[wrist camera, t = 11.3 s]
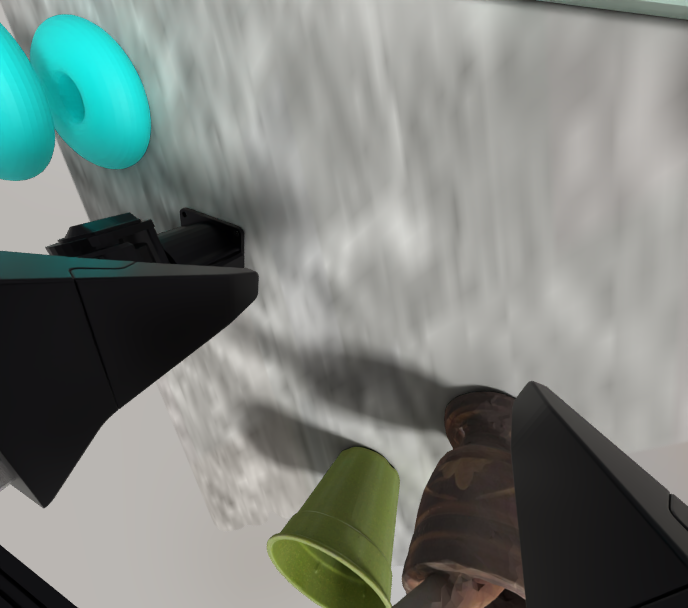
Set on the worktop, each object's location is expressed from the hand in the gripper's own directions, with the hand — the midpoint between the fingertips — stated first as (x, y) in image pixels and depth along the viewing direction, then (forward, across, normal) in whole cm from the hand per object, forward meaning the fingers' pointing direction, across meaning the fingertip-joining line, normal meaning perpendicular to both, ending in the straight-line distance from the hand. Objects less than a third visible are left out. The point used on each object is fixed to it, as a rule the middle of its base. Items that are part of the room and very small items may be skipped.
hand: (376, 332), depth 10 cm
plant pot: (+13, +2, -28) cm, 31 cm away
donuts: (+13, -28, +2) cm, 31 cm away
